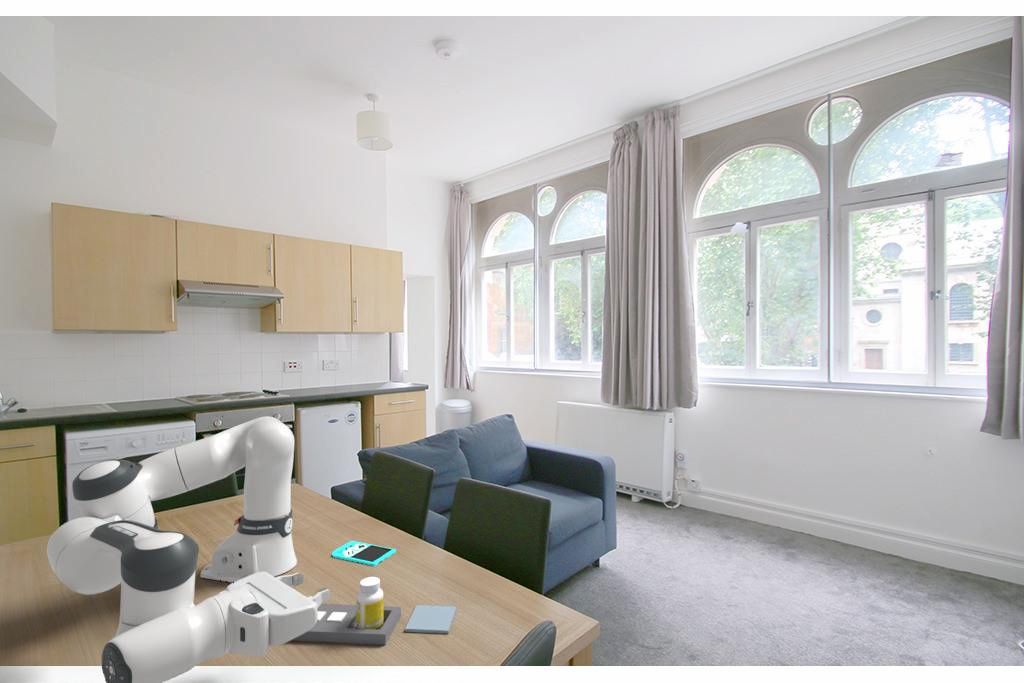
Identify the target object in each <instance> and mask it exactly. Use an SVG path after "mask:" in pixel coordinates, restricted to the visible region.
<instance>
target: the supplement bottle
mask: <svg viewBox="0 0 1024 683" xmlns="http://www.w3.org/2000/svg"><path fill="white" fill-rule="evenodd" d="M355 600H356V601H355V602H356V603H355V605H356V625H355V629H376V630H381V628H382V627H383V625H384V619H383V606H384V591H383V589H382V588H381V579H380V578H379V577H376V576H369V577H365V578H363V579H361V580H360V582H359V592H357V595H356V599H355Z"/></svg>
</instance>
